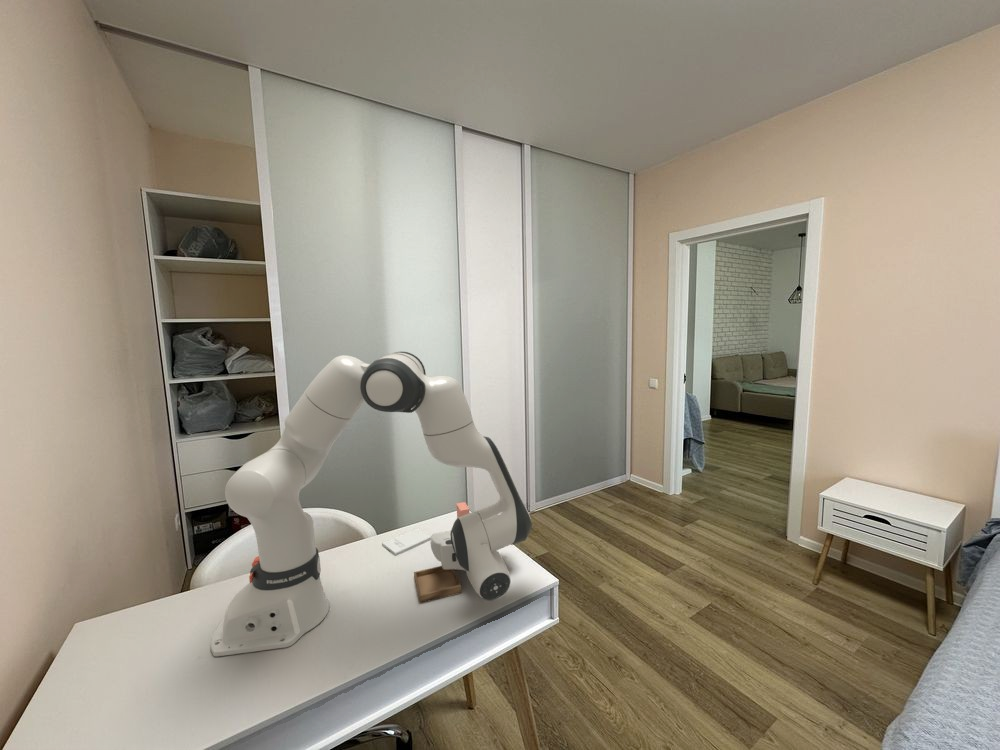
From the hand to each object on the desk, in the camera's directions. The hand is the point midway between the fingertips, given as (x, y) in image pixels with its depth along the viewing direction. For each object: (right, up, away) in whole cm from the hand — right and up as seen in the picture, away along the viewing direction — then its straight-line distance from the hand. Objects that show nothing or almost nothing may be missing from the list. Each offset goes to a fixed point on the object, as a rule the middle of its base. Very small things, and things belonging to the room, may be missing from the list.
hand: (463, 525), depth 113 cm
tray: (-5, -10, -13) cm, 18 cm away
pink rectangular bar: (+1, -8, 0) cm, 8 cm away
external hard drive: (-18, -9, +8) cm, 21 cm away
